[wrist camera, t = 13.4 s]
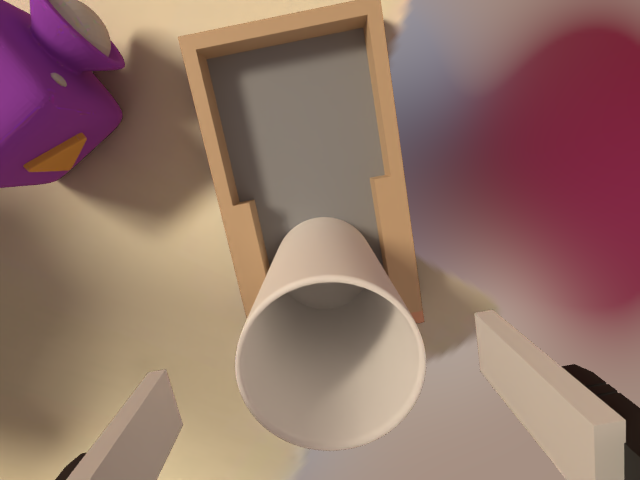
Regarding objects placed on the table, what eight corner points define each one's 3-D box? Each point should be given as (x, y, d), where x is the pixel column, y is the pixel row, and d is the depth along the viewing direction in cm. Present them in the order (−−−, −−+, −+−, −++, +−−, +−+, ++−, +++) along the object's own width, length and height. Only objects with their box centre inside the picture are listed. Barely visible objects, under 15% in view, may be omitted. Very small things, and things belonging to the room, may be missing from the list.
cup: (261, 288, 32) (205, 412, 16) (299, 200, 30) (279, 244, 15) (347, 324, 32) (375, 476, 17) (389, 241, 31) (462, 323, 15)
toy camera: (172, 71, 30) (99, 27, 20) (78, 201, 32) (-29, 219, 22) (56, -28, 28) (-85, -129, 18) (-34, 115, 30) (-203, 93, 20)
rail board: (256, 330, 34) (248, 352, 30) (190, 54, 29) (170, 38, 25) (417, 302, 34) (430, 321, 30) (377, 16, 29) (387, -7, 25)
